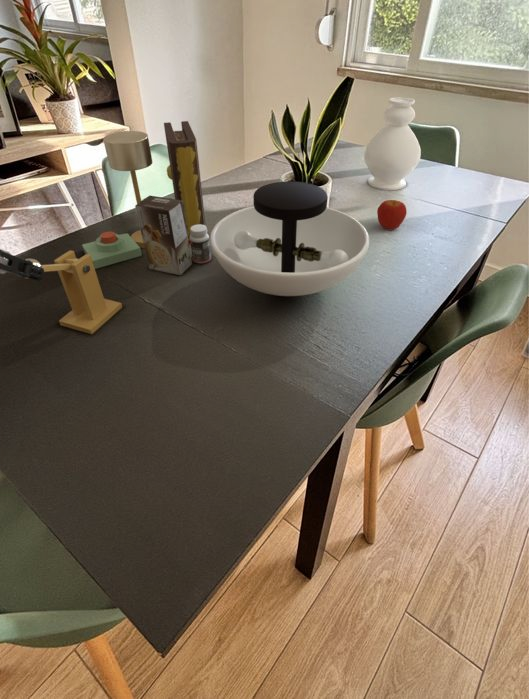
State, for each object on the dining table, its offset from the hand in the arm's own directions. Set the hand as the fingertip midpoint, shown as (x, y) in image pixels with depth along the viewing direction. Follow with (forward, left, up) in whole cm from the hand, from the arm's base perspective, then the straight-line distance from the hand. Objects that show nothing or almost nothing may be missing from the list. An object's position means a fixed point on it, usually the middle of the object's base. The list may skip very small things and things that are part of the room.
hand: (21, 269), depth 71 cm
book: (+45, +34, -17) cm, 59 cm away
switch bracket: (+9, +6, -17) cm, 20 cm away
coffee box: (+31, +16, -17) cm, 39 cm away
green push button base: (+21, +30, -17) cm, 40 cm away
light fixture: (+50, -7, -17) cm, 53 cm away
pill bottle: (+39, +15, -17) cm, 45 cm away
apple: (+91, +2, -17) cm, 92 cm away
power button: (+21, +30, -13) cm, 39 cm away
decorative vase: (+115, +27, -17) cm, 119 cm away
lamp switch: (+4, +3, -4) cm, 7 cm away
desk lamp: (+31, +32, -17) cm, 48 cm away
